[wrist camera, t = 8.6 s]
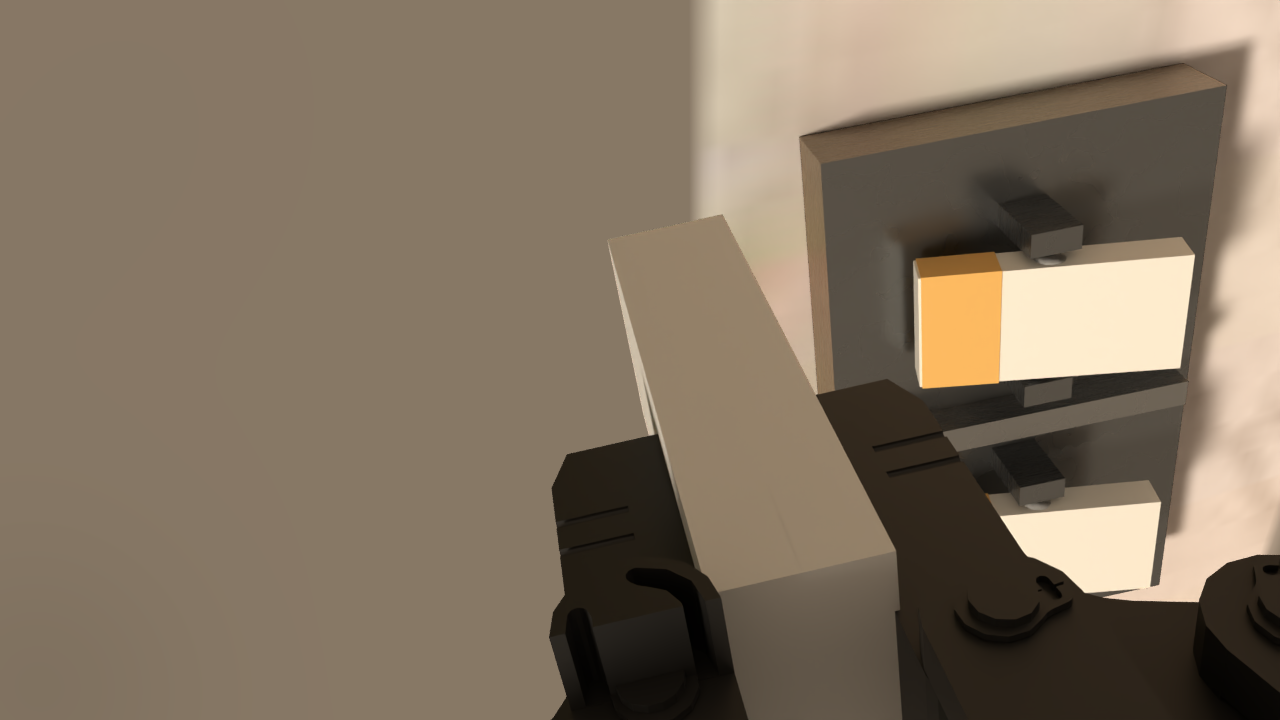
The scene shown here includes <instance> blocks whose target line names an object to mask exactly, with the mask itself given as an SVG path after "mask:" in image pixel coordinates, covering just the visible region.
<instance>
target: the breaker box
mask: <svg viewBox="0 0 1280 720" xmlns="http://www.w3.org/2000/svg"><path fill="white" fill-rule="evenodd" d="M1226 88H1227V85H1225V84H1223V83H1221V82H1219V81H1217V80H1215V79H1213V78H1211V77H1209V76H1207V75H1206V74H1204V73H1202V72H1200V71H1198V70H1196V69H1194V68H1192V67H1190V66H1188V65H1186V64H1184V63H1182V64H1177V65H1171V66H1166V67H1161V68H1156V69H1151V70H1145V71H1140V72H1135V73H1130V74H1125V75H1119V76H1114V77H1109V78H1104V79H1099V80H1093V81H1088V82H1083V83H1078V84H1073V85H1067V86H1062V87H1057V88H1052V89H1046V90H1041V91H1036V92H1031V93H1026V94H1020V95H1015V96H1010V97H1005V98H1000V99H994V100H989V101H984V102H979V103H974V104H968V105H963V106H958V107H953V108H948V109H942V110H937V111H932V112H927V113H922V114H916V115H911V116H906V117H901V118H895V119H890V120H885V121H880V122H875V123H869V124H864V125H859V126H854V127H849V128H843V129H838V130H833V131H828V132H823V133H817V134H812V135H807V136H802V137H799V139H800V152H801V166H802V180H803V194H804V208H805V222H806V236H807V250H808V263H809V277H810V291H811V305H812V319H813V333H814V347H815V360H816V374H817V388H818V394H822V393H827V392H831V391H835V390H840V389H844V388H849V387H853V386H858V385H862V384H866V383H871V382H875V381H880V380H884V379H888V380H890V381H892V382H893V383H895V384H896V385H898V386H900V387H901V388H903V389H905V390H906V391H908V392H910V393H911V394H913V395H915V396H916V397H918V398H920V399H921V400H923V401H924V403H925V404H926V406H927V407H928V409H929V410H930V412H931V413H932V415H933V416H934V418H935V419H936V421H937V422H938V424H939V425H940V427H941V428H942V430H943V434H944V437H946V436H947V437H948V439H949V440H950V442H951V443H952V445H953V446H954V448H955V450H956V451H957V453H958V454H959V458H960V461H961V462H964V463H965V465H966V466H967V468H968V469H969V471H970V472H971V474H972V475H973V477H974V478H975V480H976V481H977V483H978V484H979V486H980V487H981V489H982V490H983V492H984V493H988V495H990V494H1001V493H1011V495H1012V496H1013V497H1014V499H1015V500H1016V502H1017V503H1018V505H1019V506H1023V505H1027V504H1032V503H1037V502H1042V501H1046V500H1051V499H1056V498H1061V497H1064V492H1065V488H1067V487H1078V486H1089V485H1100V484H1111V483H1122V482H1133V481H1144V480H1149V482H1150V483H1151V485H1152V487H1153V489H1154V490H1155V492H1156V494H1157V496H1158V497H1159V499H1160V501H1161V506H1160V514H1159V522H1158V530H1157V537H1156V545H1155V553H1154V560H1153V568H1152V576H1151V583H1150V587H1152V586H1156V585H1159V582H1160V575H1161V567H1162V560H1163V552H1164V545H1165V538H1166V530H1167V523H1168V515H1169V508H1170V501H1171V493H1172V486H1173V479H1174V471H1175V464H1176V456H1177V449H1178V442H1179V434H1180V427H1181V420H1182V412H1183V405H1184V404H1185V403H1186V396H1187V388H1188V380H1187V375H1188V368H1189V361H1190V353H1191V346H1192V338H1193V331H1194V324H1195V316H1196V309H1197V302H1198V294H1199V287H1200V279H1201V272H1202V265H1203V257H1204V250H1205V242H1206V235H1207V228H1208V220H1209V213H1210V206H1211V198H1212V191H1213V183H1214V176H1215V169H1216V161H1217V154H1218V147H1219V139H1220V132H1221V124H1222V117H1223V110H1224V102H1225V95H1226ZM1174 237H1182V238H1183V239H1184V241H1185V242H1186V243H1187V245H1188V246H1189V247H1190V249H1191V250H1192V251H1193V253H1194V254H1195V259H1194V266H1193V274H1192V282H1191V289H1190V297H1189V305H1188V312H1187V320H1186V328H1185V335H1184V343H1183V350H1182V358H1181V366H1180V368H1175V369H1162V370H1148V371H1134V372H1120V373H1107V374H1093V375H1079V376H1065V377H1052V378H1038V379H1024V380H1010V381H999V383H993V384H979V385H965V386H952V387H938V388H924V389H922V387H920V386H919V382H918V378H917V373H916V369H915V335H914V276H913V261H914V260H916V259H917V258H929V257H940V256H951V255H963V254H974V253H985V252H995V253H1005V252H1016V251H1023V252H1024V253H1025V254H1026V255H1027V256H1028V257H1029V258H1030V259H1034V258H1039V257H1044V256H1049V255H1054V254H1059V253H1064V252H1069V251H1074V250H1079V249H1082V246H1084V245H1095V244H1106V243H1118V242H1129V241H1140V240H1152V239H1163V238H1174ZM1133 590H1138V589H1130V590H1118V591H1105V592H1093V593H1088V594H1092V595H1095V596H1099V597H1105V596H1110V595H1114V594H1119V593H1124V592H1128V591H1133Z"/></svg>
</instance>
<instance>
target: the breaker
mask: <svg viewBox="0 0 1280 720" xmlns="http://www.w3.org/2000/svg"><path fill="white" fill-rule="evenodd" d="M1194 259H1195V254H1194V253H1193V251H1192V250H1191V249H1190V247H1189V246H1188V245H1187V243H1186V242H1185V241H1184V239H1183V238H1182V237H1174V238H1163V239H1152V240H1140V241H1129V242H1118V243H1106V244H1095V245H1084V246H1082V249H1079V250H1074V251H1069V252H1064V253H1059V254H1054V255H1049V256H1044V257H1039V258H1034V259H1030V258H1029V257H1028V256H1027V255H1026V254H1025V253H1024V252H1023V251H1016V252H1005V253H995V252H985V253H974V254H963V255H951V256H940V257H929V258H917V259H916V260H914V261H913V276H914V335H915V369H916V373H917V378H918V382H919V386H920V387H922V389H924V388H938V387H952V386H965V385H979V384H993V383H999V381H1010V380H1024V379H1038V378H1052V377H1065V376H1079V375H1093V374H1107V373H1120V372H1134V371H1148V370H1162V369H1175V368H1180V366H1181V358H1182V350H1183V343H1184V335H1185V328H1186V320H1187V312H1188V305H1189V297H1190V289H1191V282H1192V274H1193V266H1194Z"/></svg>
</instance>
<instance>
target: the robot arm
mask: <svg viewBox="0 0 1280 720" xmlns="http://www.w3.org/2000/svg"><path fill="white" fill-rule="evenodd" d="M608 245H609V250H610V255H611V260H612V264H613V269H614V274H615V279H616V283H617V289H618V293H619V298H620V303H621V308H622V313H623V318H624V323H625V327H626V332H627V337H628V342H629V347H630V352H631V356H632V361H633V366H634V371H635V375H636V381H637V385H638V390H639V395H640V400H641V405H642V410H643V414H644V418H645V422H646V426H647V430H648V433H649V436H647V437H642V438H637V439H633V440H629V441H624V442H620V443H615V444H611V445H606V446H602V447H597V448H593V449H589V450H585V451H580V452H576V453H571V454H567V455H566V458H565V460H564V462H563V464H562V467H561V469H560V471H559V473H558V475H557V478H556V480H555V482H554V484H553V486H552V495H553V503H554V511H555V519H556V525H557V535H558V543H559V551H560V555H561V557H560V559H561V567H562V575H563V583H564V591H565V596H564V597H563V598H562V600H561V601H560V603H559V604H558V606H557V607H556V609H555V610H554V612H553V616H552V622H551V629H550V636H549V638H550V642H551V645H552V648H553V652H554V655H555V659H556V661H557V665H558V669H559V672H560V675H561V678H562V682H563V685H564V688H565V692H566V695H567V697H566V699H565V700H564V702H563V704H562V705H561V707H560V708H559V710H558V711H557V713H556V714H555V716H554V717H553V718H552V720H1280V555H1255V556H1251V557H1248V558H1244V559H1240V560H1236V561H1233V562H1229V563H1227V564H1225V565H1224V566H1223V567H1221V568H1220V569H1219V570H1217V571H1216V572H1215V573H1214V574H1212V575H1211V576H1210V577H1208V578H1207V580H1206V582H1205V585H1204V588H1203V591H1202V594H1201V597H1200V599H1199V602H1160V601H1129V600H1119V599H1109V598H1103V597H1099V596H1095V595H1092V594H1088V593H1084V592H1083V590H1082V589H1081V588H1079V587H1078V586H1077V585H1076V584H1075V583H1074V582H1073V581H1072V580H1071V579H1070V578H1069V577H1068V576H1067V575H1066V574H1065V573H1064V572H1063V571H1061V570H1059V569H1057V568H1055V567H1053V566H1050V565H1048V564H1046V563H1044V562H1042V561H1040V560H1038V559H1036V558H1032V557H1027V556H1026V554H1025V553H1024V552H1023V551H1022V549H1021V548H1020V546H1019V545H1018V543H1017V541H1016V540H1015V538H1014V537H1013V535H1012V534H1011V532H1010V531H1009V529H1008V528H1007V526H1006V525H1005V523H1004V522H1003V520H1002V519H1001V517H1000V516H999V514H998V513H997V511H996V510H995V508H994V507H993V505H992V504H991V502H990V501H989V499H988V498H987V496H986V495H985V493H984V492H983V490H982V489H981V487H980V486H979V484H978V483H977V481H976V480H975V478H974V477H973V475H972V474H971V472H970V471H969V469H968V468H967V466H966V465H965V463H964V462H961V461H960V458H959V454H958V453H957V451H956V450H955V448H954V446H953V445H952V443H951V442H950V440H949V439H948V437H947V436H946V437H944V434H943V430H942V428H941V427H940V425H939V424H938V422H937V421H936V419H935V418H934V416H933V415H932V413H931V412H930V410H929V409H928V407H927V406H926V404H925V403H924V401H923V400H921V399H920V398H918V397H916V396H915V395H913V394H911V393H910V392H908V391H906V390H905V389H903V388H901V387H900V386H898V385H896V384H895V383H893V382H892V381H890V380H888V379H884V380H880V381H875V382H871V383H866V384H862V385H858V386H853V387H849V388H844V389H840V390H835V391H831V392H827V393H822V394H818V395H815V393H814V391H813V389H812V387H811V385H810V383H809V381H808V379H807V377H806V375H805V373H804V371H803V369H802V367H801V366H800V364H799V362H798V360H797V358H796V356H795V354H794V352H793V350H792V348H791V346H790V344H789V342H788V340H787V338H786V336H785V335H784V333H783V331H782V329H781V327H780V325H779V323H778V321H777V319H776V317H775V315H774V313H773V311H772V309H771V307H770V305H769V304H768V302H767V300H766V298H765V296H764V294H763V292H762V290H761V288H760V286H759V284H758V282H757V280H756V278H755V276H754V274H753V273H752V271H751V269H750V267H749V265H748V263H747V261H746V259H745V257H744V255H743V253H742V251H741V249H740V247H739V245H738V243H737V242H736V240H735V238H734V236H733V234H732V232H731V230H730V228H729V226H728V224H727V222H726V220H725V218H724V216H723V214H722V215H717V216H713V217H708V218H704V219H699V220H694V221H690V222H685V223H681V224H677V225H672V226H668V227H663V228H658V229H654V230H649V231H644V232H640V233H635V234H631V235H626V236H622V237H617V238H613V239H608Z"/></svg>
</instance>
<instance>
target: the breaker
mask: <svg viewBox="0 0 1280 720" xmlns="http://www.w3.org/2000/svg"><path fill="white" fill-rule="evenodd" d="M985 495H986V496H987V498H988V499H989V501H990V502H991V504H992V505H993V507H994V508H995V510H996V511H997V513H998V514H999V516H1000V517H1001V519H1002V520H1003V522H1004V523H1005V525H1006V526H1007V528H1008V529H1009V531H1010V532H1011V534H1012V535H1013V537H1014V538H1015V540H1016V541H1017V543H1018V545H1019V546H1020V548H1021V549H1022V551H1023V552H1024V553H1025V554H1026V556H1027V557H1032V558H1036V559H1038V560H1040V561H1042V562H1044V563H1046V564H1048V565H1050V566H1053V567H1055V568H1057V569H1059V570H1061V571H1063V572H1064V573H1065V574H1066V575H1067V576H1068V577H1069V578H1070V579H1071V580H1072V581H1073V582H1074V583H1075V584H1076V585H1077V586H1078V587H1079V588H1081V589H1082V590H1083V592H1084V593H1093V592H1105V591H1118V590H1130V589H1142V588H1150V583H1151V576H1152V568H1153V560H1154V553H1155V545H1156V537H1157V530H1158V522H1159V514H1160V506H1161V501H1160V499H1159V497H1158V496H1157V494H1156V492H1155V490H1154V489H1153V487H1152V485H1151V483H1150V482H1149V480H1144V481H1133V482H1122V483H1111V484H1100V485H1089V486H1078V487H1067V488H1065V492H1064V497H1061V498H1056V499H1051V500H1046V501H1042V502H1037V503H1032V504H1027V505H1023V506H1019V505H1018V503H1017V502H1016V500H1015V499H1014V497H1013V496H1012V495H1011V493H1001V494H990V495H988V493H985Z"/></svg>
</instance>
